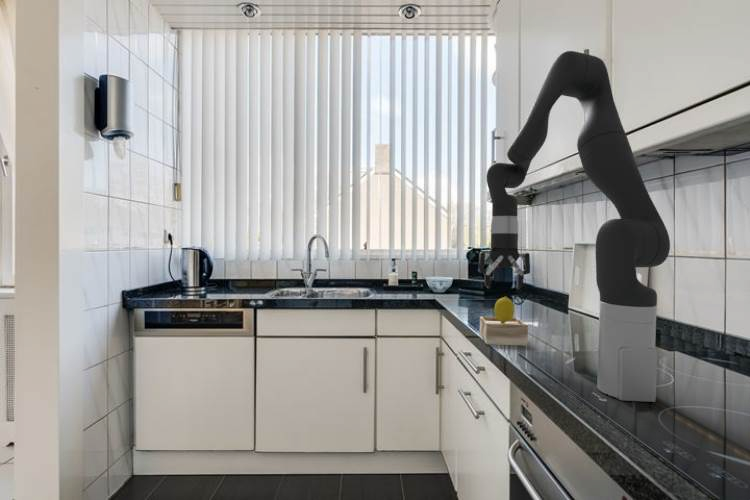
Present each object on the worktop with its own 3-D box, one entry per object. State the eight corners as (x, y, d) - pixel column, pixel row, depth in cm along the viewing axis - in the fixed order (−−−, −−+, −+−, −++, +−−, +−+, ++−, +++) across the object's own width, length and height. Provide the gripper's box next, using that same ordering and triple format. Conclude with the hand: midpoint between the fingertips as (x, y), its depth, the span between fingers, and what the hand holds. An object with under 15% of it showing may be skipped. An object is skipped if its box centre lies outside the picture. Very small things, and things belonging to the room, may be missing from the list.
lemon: (489, 320, 119) (492, 294, 119) (505, 321, 121) (508, 295, 120) (499, 325, 114) (502, 297, 113) (516, 326, 115) (519, 298, 115)
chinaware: (421, 290, 230) (421, 276, 230) (444, 289, 235) (445, 276, 235) (432, 293, 216) (433, 279, 216) (457, 293, 221) (457, 279, 220)
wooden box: (527, 346, 111) (528, 325, 111) (486, 345, 112) (486, 324, 112) (516, 337, 122) (517, 317, 122) (479, 335, 123) (479, 316, 123)
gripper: (481, 231, 113) (480, 289, 113) (533, 232, 112) (532, 290, 112) (477, 232, 121) (476, 286, 121) (525, 233, 120) (524, 287, 120)
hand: (503, 288), depth 117 cm, fingers open, 8 cm apart
